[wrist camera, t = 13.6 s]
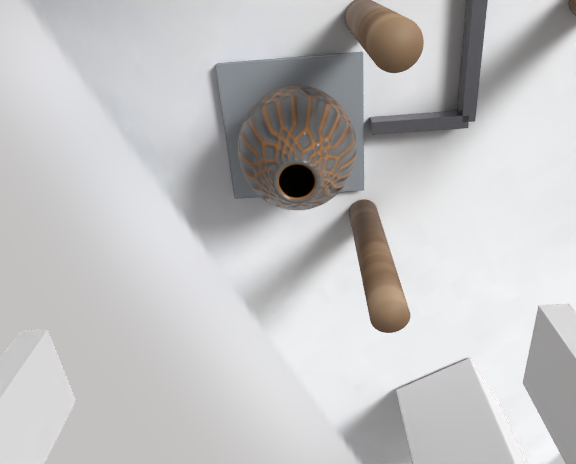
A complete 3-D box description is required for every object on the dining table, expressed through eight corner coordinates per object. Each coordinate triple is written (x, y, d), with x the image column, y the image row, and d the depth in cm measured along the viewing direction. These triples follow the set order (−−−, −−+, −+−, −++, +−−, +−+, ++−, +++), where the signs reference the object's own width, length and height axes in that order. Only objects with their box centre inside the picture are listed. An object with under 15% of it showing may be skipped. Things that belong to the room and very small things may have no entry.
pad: (217, 63, 31) (215, 65, 30) (361, 51, 30) (363, 53, 30) (235, 195, 35) (234, 198, 34) (362, 186, 34) (363, 190, 34)
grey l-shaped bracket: (370, -42, 28) (372, -43, 27) (485, -53, 27) (492, -53, 26) (370, 129, 32) (372, 134, 31) (468, 122, 32) (474, 127, 31)
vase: (361, 163, 33) (380, 223, 25) (264, 190, 34) (254, 256, 26) (335, 60, 30) (347, 93, 22) (229, 94, 31) (205, 137, 23)
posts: (344, -1, 29) (370, 19, 18) (608, -24, 28) (796, -17, 17) (349, 225, 36) (370, 333, 25) (560, 212, 35) (672, 319, 25)
